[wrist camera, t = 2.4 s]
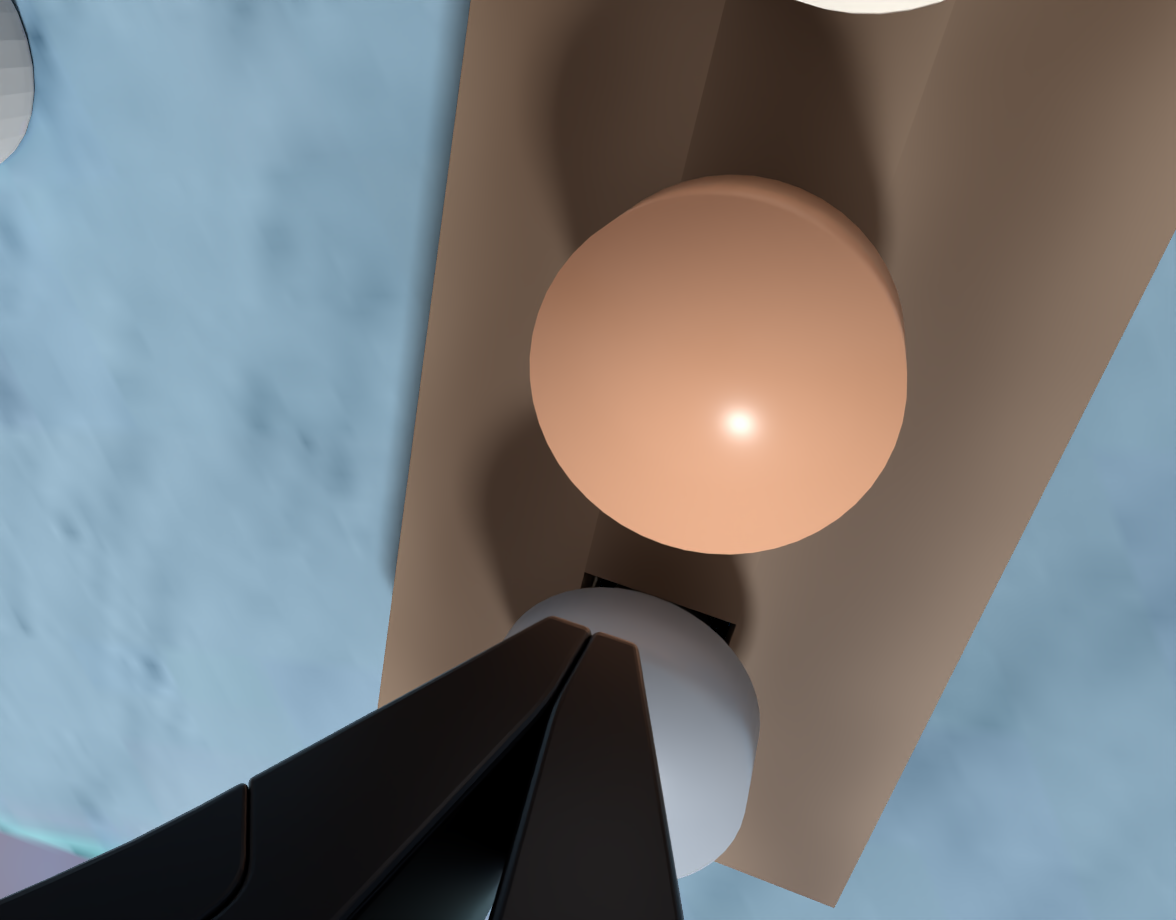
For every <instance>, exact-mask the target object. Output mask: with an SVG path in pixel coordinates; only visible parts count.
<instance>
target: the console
mask: <svg viewBox="0 0 1176 920" xmlns="http://www.w3.org/2000/svg"><path fill="white" fill-rule="evenodd" d="M718 175H748V176H758V177H763V178H768V179H773V180H778V181H781V182H784V183H787V184H790V185H793V186H796V187H799V188H801V189H803V190H805V191H807V192H809V193H811V194H813V195H815V196H817V197H819V198H821V199H823V200H824V201H826V202H827V203H829V204H830V205H832V206H833V207H835V208H836V209H837V210H839V211H840V212H842V213H843V214H844V215H845V216H846V217H847V218H848V219H850V220H851V221H852V222H853V223H854V224H855V225H856V226H857V227H858V228H859V229H860V230H861V231H862V232H863V233H864V235H865V236H866V237H867V238H868V239H869V241H870V242H871V243H872V244H873V245H874V247H875V248H876V250H877V251H878V253H879V255H880V256H881V258H882V260H883V261H884V263H885V264H886V266H887V268H888V270H889V273H890V275H891V277H892V280H893V282H894V284H895V287H896V289H897V293H898V296H899V300H900V304H901V307H902V312H903V320H904V328H905V341H906V360H907V400H906V406H905V411H904V417H903V423H902V426H901V429H900V432H899V435H898V439H897V442H896V445H895V447H894V449H893V451H892V453H891V455H890V457H889V459H888V461H887V463H886V466H885V467H884V469H883V470H882V472H881V473H880V475H879V476H878V478H877V479H876V481H875V482H874V484H873V485H872V487H871V488H870V489H869V490H868V491H867V492H866V493H865V494H864V495H863V497H862V498H861V499H860V500H859V501H858V502H857V503H856V504H855V505H854V506H853V507H852V508H850V509H849V510H848V511H847V512H846V513H844V514H843V515H842V516H841V517H840V518H838V519H837V520H836V521H834V522H832V523H831V524H829V525H828V526H826V527H825V528H823V529H821V530H820V531H818V532H816V533H814V534H812V535H810V536H808V537H806V538H803V539H801V540H799V541H797V542H794V543H791V544H788V545H785V546H781V547H778V548H775V549H770V550H765V551H760V552H755V553H744V554H730V555H729V554H707V553H700V552H694V551H688V550H683V549H679V548H676V547H672V546H668V545H665V544H662V543H659V542H657V541H654V540H652V539H649V538H647V537H644V536H642V535H640V534H638V533H636V532H634V531H632V530H630V529H628V528H627V527H625V526H623V525H621V524H620V523H618V522H617V521H615V520H614V519H612V518H611V517H610V516H608V515H607V514H605V513H604V512H602V511H601V510H600V509H599V508H598V507H597V506H596V505H594V504H593V503H592V502H591V501H590V500H589V499H588V498H586V497H585V495H584V494H583V493H582V492H581V491H580V490H579V489H578V488H577V487H576V486H575V485H574V483H573V482H572V481H571V480H570V479H569V477H568V476H567V474H566V473H565V472H564V470H563V469H562V468H561V466H560V465H559V463H558V462H557V460H556V458H555V456H554V455H553V453H552V451H551V449H550V447H549V446H548V444H547V442H546V439H545V437H544V434H543V432H542V429H541V427H540V425H539V422H538V418H537V414H536V411H535V407H534V403H533V398H532V391H531V384H530V350H531V342H532V334H533V330H534V326H535V323H536V319H537V315H538V312H539V309H540V307H541V304H542V302H543V300H544V297H545V295H546V292H547V290H548V289H549V287H550V285H551V284H552V282H553V280H554V278H555V277H556V275H557V273H558V272H559V270H560V269H561V268H562V267H563V265H564V264H565V263H566V262H567V260H568V259H569V258H570V256H571V255H572V254H573V253H574V252H575V251H576V250H577V249H578V248H579V247H580V246H581V245H582V244H583V243H584V242H585V241H586V240H587V239H588V238H589V237H591V236H592V235H593V234H595V233H596V232H597V231H599V230H600V229H602V228H603V227H604V226H606V225H607V224H609V223H610V222H611V221H613V220H614V219H616V218H617V217H619V216H620V215H622V214H623V213H624V212H626V211H627V210H629V209H630V208H632V207H633V206H635V205H636V204H637V203H639V202H640V201H642V200H643V199H645V198H647V197H649V196H651V195H653V194H655V193H657V192H658V191H660V190H662V189H665V188H667V187H670V186H673V185H676V184H678V183H681V182H684V181H688V180H693V179H697V178H702V177H706V176H718ZM1175 230H1176V0H944V1H942V2H939V3H937V4H933V5H929V6H926V7H922V8H918V9H914V10H910V11H904V12H896V13H888V14H850V13H844V12H837V11H831V10H826V9H823V8H820V7H816V6H813V5H810V4H807V3H803V2H800V1H797V0H471V2H470V10H469V17H468V25H467V32H466V40H465V48H464V55H463V63H462V70H461V78H460V86H459V93H458V101H457V108H456V116H455V124H454V131H453V139H452V147H451V154H450V162H449V169H448V177H447V185H446V192H445V200H444V207H443V215H442V223H441V230H440V238H439V245H438V253H437V261H436V268H435V276H434V284H433V291H432V299H431V306H430V314H429V322H428V329H427V337H426V344H425V352H424V360H423V367H422V375H421V382H420V390H419V398H418V405H417V413H416V421H415V428H414V436H413V443H412V451H411V459H410V466H409V474H408V481H407V489H406V497H405V504H404V512H403V519H402V527H401V535H400V542H399V550H398V558H397V565H396V573H395V580H394V588H393V596H392V603H391V611H390V618H389V626H388V634H387V641H386V649H385V656H384V664H383V672H382V679H381V687H380V695H379V702H378V709H379V708H380V707H382V706H384V705H386V704H388V703H390V702H391V701H393V700H395V699H397V698H399V697H401V696H402V695H404V694H406V693H408V692H410V691H412V690H413V689H415V688H417V687H419V686H421V685H423V684H424V683H426V682H428V681H430V680H432V679H434V678H435V677H437V676H439V675H441V674H443V673H445V672H446V671H448V670H450V669H452V668H454V667H456V666H457V665H459V664H461V663H463V662H465V661H467V660H468V659H470V658H472V657H474V656H476V655H478V654H479V653H481V652H483V651H485V650H487V649H489V648H490V647H492V646H494V645H496V644H498V643H500V642H501V641H503V640H504V638H505V637H506V635H507V634H508V632H509V631H510V629H511V628H512V627H513V625H514V624H515V622H516V621H517V620H518V619H519V618H520V617H521V616H522V615H523V614H524V613H525V612H527V611H528V610H529V609H531V608H532V607H534V606H535V605H536V604H538V603H540V602H542V601H544V600H546V599H548V598H550V597H552V596H555V595H558V594H561V593H564V592H567V591H572V590H577V589H582V588H596V587H600V583H601V579H602V578H603V579H606V580H609V581H612V582H615V583H618V584H620V585H623V586H626V587H629V588H632V589H635V590H638V591H641V592H644V593H646V594H649V595H652V596H655V597H658V598H661V599H664V600H667V601H670V602H672V603H675V604H678V605H681V606H684V607H687V608H690V609H693V610H696V611H698V612H701V613H704V614H707V615H710V616H713V617H716V618H719V619H722V620H724V621H727V622H730V626H729V629H728V632H727V635H726V638H725V642H726V644H727V645H728V646H729V647H730V648H731V649H732V650H733V652H734V653H735V654H736V656H737V657H738V659H739V660H740V661H741V663H742V664H743V666H744V668H745V670H746V672H747V674H748V675H749V677H750V679H751V682H752V685H753V687H754V690H755V693H756V696H757V701H758V706H759V712H760V730H759V739H758V744H757V750H756V755H755V761H754V766H753V772H752V777H751V782H750V788H749V793H748V799H747V804H746V809H745V814H744V817H743V820H742V824H741V827H740V829H739V831H738V833H737V835H736V837H735V839H734V840H733V841H732V843H731V844H730V845H729V847H728V848H727V849H726V851H725V852H724V853H722V854H721V855H720V856H719V857H718V858H717V859H716V860H715V862H718V863H720V864H723V865H725V866H728V867H731V868H733V869H736V870H738V871H741V872H743V873H746V874H748V875H751V876H754V877H756V878H759V879H761V880H764V881H766V882H769V883H772V884H774V885H777V886H779V887H782V888H784V889H787V890H789V891H792V892H795V893H797V894H800V895H802V896H805V897H807V898H810V899H813V900H815V901H818V902H820V903H823V904H825V905H828V906H830V907H833V908H834V907H835V905H836V903H837V901H838V899H839V897H840V895H841V893H842V891H843V889H844V887H845V885H846V883H847V881H848V879H849V877H850V875H851V874H852V872H853V870H854V868H855V866H856V864H857V862H858V860H859V858H860V856H861V854H862V852H863V850H864V848H865V846H866V844H867V842H868V840H869V838H870V836H871V834H872V832H873V830H874V828H875V826H876V824H877V822H878V820H879V818H880V816H881V814H882V812H883V810H884V808H885V806H886V804H887V802H888V800H889V798H890V796H891V794H892V792H893V790H894V788H895V786H896V784H897V782H898V780H899V778H900V776H901V774H902V772H903V770H904V768H905V766H906V764H907V762H908V760H909V758H910V756H911V754H912V752H913V750H914V748H915V746H916V744H917V742H918V740H919V738H920V736H921V734H922V732H923V730H924V728H925V726H926V724H927V722H928V720H929V719H930V717H931V715H932V713H933V711H934V709H935V707H936V705H937V703H938V701H939V699H940V697H941V695H942V693H943V691H944V689H945V687H946V685H947V683H948V681H949V679H950V677H951V675H952V673H953V671H954V669H955V667H956V665H957V663H958V661H959V659H960V657H961V655H962V653H963V651H964V649H965V647H966V645H967V643H968V641H969V639H970V637H971V635H972V633H973V631H974V629H975V627H976V625H977V623H978V621H979V619H980V617H981V615H982V613H983V611H984V609H985V607H986V605H987V603H988V601H989V599H990V597H991V595H992V593H993V591H994V589H995V587H996V585H997V583H998V581H999V579H1000V577H1001V575H1002V573H1003V571H1004V569H1005V567H1006V565H1007V564H1008V562H1009V560H1010V558H1011V556H1012V554H1013V552H1014V550H1015V548H1016V546H1017V544H1018V542H1019V540H1020V538H1021V536H1022V534H1023V532H1024V530H1025V528H1026V526H1027V524H1028V522H1029V520H1030V518H1031V516H1032V514H1033V512H1034V510H1035V508H1036V506H1037V504H1038V502H1039V500H1040V498H1041V496H1042V494H1043V492H1044V490H1045V488H1046V486H1047V484H1048V482H1049V480H1050V478H1051V476H1052V474H1053V472H1054V470H1055V468H1056V466H1057V464H1058V462H1059V460H1060V458H1061V456H1062V454H1063V452H1064V450H1065V448H1066V446H1067V444H1068V442H1069V440H1070V438H1071V436H1072V434H1073V432H1074V430H1075V428H1076V426H1077V424H1078V422H1079V420H1080V418H1081V416H1082V414H1083V412H1084V410H1085V409H1086V407H1087V405H1088V403H1089V401H1090V399H1091V397H1092V395H1093V393H1094V391H1095V389H1096V387H1097V385H1098V383H1099V381H1100V379H1101V377H1102V375H1103V373H1104V371H1105V369H1106V367H1107V365H1108V363H1109V361H1110V359H1111V357H1112V355H1113V353H1114V351H1115V349H1116V347H1117V345H1118V343H1119V341H1120V339H1121V337H1122V335H1123V333H1124V331H1125V329H1126V327H1127V325H1128V323H1129V321H1130V319H1131V317H1132V315H1133V313H1134V311H1135V309H1136V307H1137V305H1138V303H1139V301H1140V299H1141V297H1142V295H1143V293H1144V291H1145V289H1146V287H1147V285H1148V283H1149V281H1150V279H1151V277H1152V275H1153V273H1154V271H1155V269H1156V267H1157V265H1158V263H1159V261H1160V259H1161V257H1162V255H1163V254H1164V252H1165V250H1166V248H1167V246H1168V244H1169V242H1170V240H1171V238H1172V236H1173V234H1174V232H1175Z"/></svg>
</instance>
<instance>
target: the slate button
mask: <svg viewBox="0 0 1176 920" xmlns="http://www.w3.org/2000/svg"><path fill="white" fill-rule="evenodd" d="M548 616H557V617H560V618H563V619H566V620H569V621H572V622H574V623H577V624H580V625H583V626H586V627H588V628H589V629H590V630H591V634H592V635H593V634H594V633H596V632H604V633H607V634H610V635H613V636H616V637H619V638H622V639H624V640H627V641H630V642H633V643H634V644H636V646H637V647H638V650H639V654H640V660H641V666H642V672H643V678H644V684H645V690H646V696H647V702H648V708H649V714H650V720H651V725H652V731H653V737H654V743H655V749H656V755H657V761H658V767H659V773H660V779H661V785H662V791H663V797H664V803H665V809H666V815H667V821H668V827H669V833H670V839H671V845H672V851H673V857H674V863H675V869H676V875H677V879H679V878H682V877H685V876H688V875H690V874H693V873H695V872H697V871H699V870H701V869H703V868H704V867H706V866H707V865H709V864H711V863H712V862H714V861H715V860H716V859H717V858H718V857H719V856H720V855H721V854H722V853H724V852H725V851H726V849H727V848H728V847H729V845H730V844H731V843H732V841H733V840H734V839H735V837H736V835H737V833H738V831H739V829H740V827H741V824H742V820H743V817H744V814H745V809H746V804H747V799H748V793H749V788H750V782H751V777H752V772H753V766H754V761H755V755H756V750H757V744H758V739H759V730H760V712H759V706H758V701H757V696H756V693H755V690H754V687H753V685H752V682H751V679H750V677H749V675H748V674H747V672H746V670H745V668H744V666H743V664H742V663H741V661H740V660H739V659H738V657H737V656H736V654H735V653H734V652H733V650H732V649H731V648H730V647H729V646H728V645H727V644H726V642H725V641H724V640H723V639H722V638H721V637H720V636H719V635H718V634H717V633H716V632H714V631H713V630H712V629H711V628H710V623H709V619H708V616H707V614H704V613H701V612H698V611H696V610H693V609H690V608H687V607H684V606H681V605H678V604H675V603H672V602H670V601H667V600H664V599H661V598H658V597H655V596H652V595H649V594H646V593H644V592H641V591H638V590H635V589H632V588H629V587H626V586H623V585H620V584H618V585H616V586H615V587H614V588H605V587H596V588H582V589H577V590H572V591H567V592H564V593H561V594H558V595H555V596H552V597H550V598H548V599H546V600H544V601H542V602H540V603H538V604H536V605H535V606H534V607H532V608H531V609H529V610H528V611H527V612H525V613H524V614H523V615H522V616H521V617H520V618H519V619H518V620H517V621H516V622H515V624H514V625H513V627H512V628H511V629H510V631H509V632H508V634H507V635H506V637H505V638H504V640H505V639H507V638H509V637H511V636H512V635H514V634H516V633H518V632H520V631H522V630H523V629H525V628H527V627H529V626H531V625H533V624H534V623H536V622H538V621H540V620H542V619H544V618H546V617H548Z"/></svg>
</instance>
